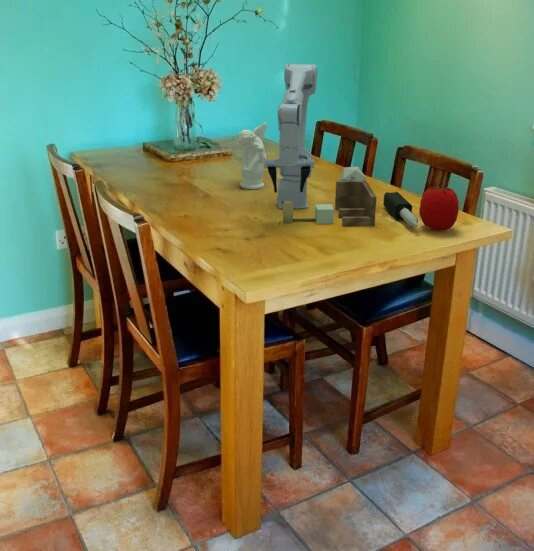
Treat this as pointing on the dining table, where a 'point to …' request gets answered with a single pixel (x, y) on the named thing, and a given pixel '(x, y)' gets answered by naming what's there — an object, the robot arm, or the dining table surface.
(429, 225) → the red apple
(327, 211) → the pull block
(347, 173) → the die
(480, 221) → the dining table surface
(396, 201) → the black and grey rod
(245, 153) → the cherub figurine
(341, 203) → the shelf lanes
